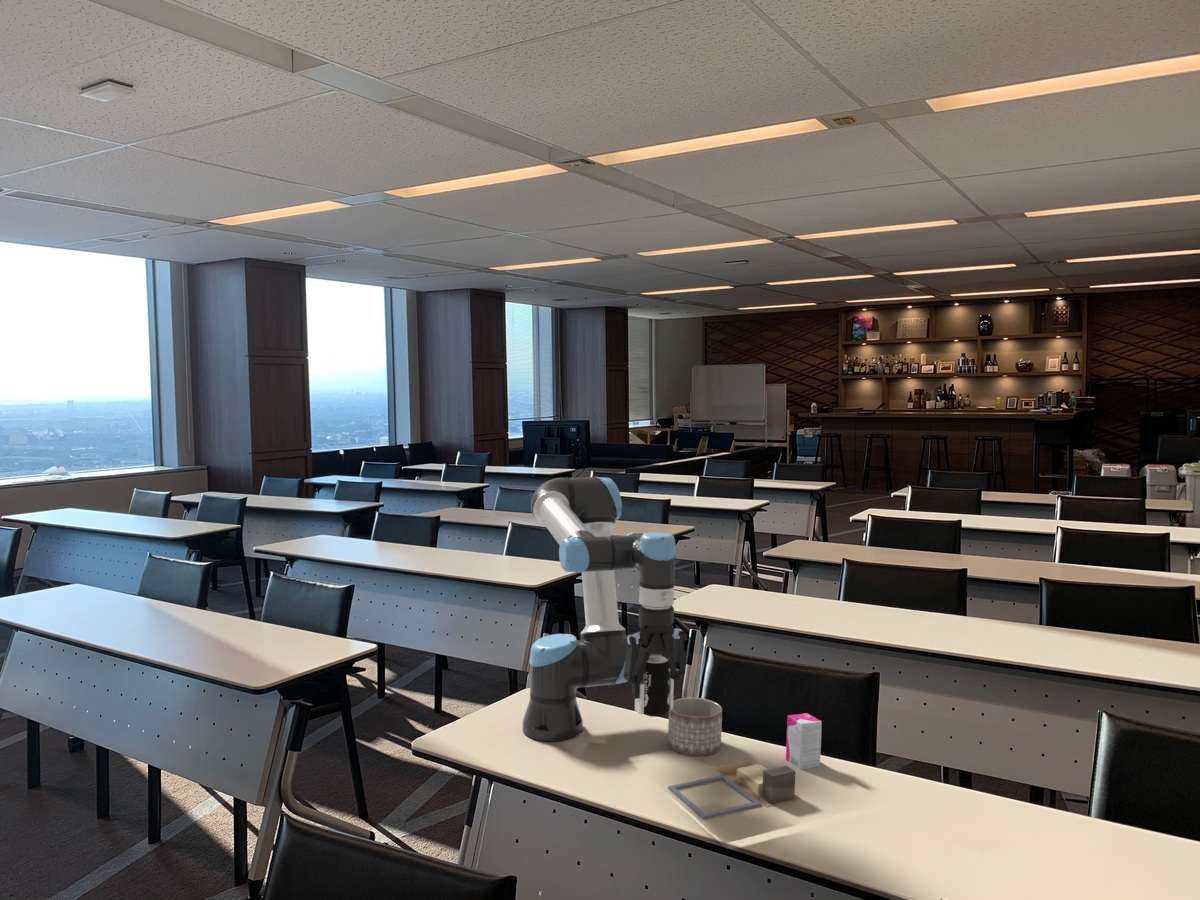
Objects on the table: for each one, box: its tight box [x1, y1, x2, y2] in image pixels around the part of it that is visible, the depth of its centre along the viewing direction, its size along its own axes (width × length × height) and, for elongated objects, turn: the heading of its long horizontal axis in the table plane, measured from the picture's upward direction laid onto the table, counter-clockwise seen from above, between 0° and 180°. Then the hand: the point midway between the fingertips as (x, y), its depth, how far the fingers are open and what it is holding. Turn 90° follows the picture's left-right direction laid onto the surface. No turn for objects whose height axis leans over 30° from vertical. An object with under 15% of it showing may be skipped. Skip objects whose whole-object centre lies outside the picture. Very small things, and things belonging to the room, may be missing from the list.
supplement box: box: [785, 712, 823, 770], centre depth 192 cm, size 6×6×12 cm
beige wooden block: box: [737, 763, 768, 796], centre depth 181 cm, size 8×6×2 cm
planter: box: [667, 697, 723, 757], centre depth 201 cm, size 13×13×10 cm
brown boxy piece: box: [712, 760, 802, 808], centre depth 182 cm, size 20×9×7 cm, turn 25°
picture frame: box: [667, 774, 762, 820], centre depth 175 cm, size 14×14×2 cm
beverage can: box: [641, 653, 670, 718], centre depth 181 cm, size 7×7×12 cm
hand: (653, 709), depth 182 cm, fingers closed on beverage can, 7 cm apart
